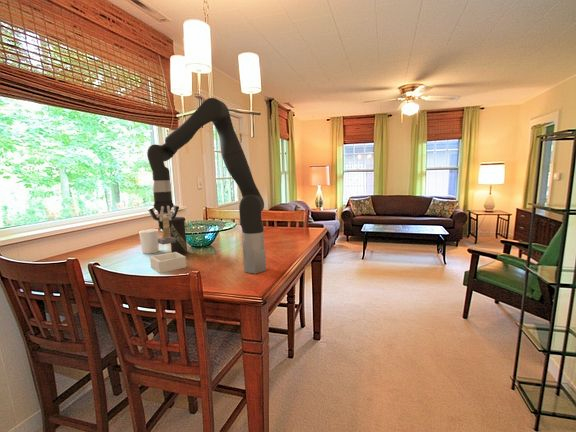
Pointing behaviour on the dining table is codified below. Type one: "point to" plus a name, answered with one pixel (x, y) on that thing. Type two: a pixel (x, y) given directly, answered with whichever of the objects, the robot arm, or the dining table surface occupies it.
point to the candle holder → (149, 240)
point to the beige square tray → (168, 262)
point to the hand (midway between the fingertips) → (165, 228)
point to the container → (178, 235)
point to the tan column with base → (166, 232)
